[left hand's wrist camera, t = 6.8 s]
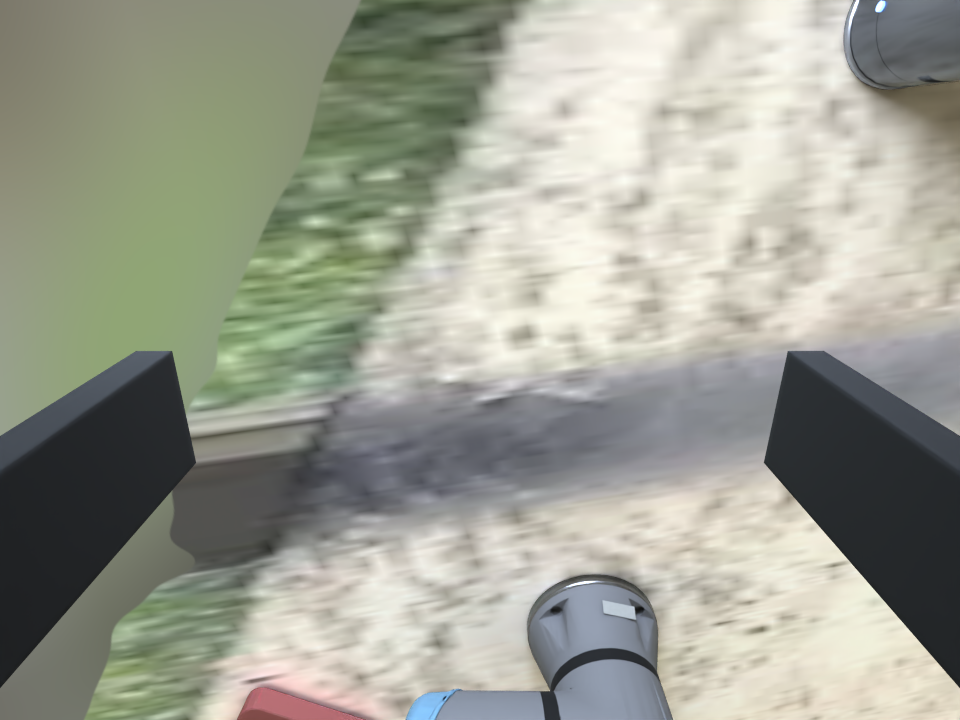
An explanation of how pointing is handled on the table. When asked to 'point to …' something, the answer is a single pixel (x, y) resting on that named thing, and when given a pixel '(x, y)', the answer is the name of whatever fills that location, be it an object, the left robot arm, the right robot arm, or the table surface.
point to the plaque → (286, 708)
